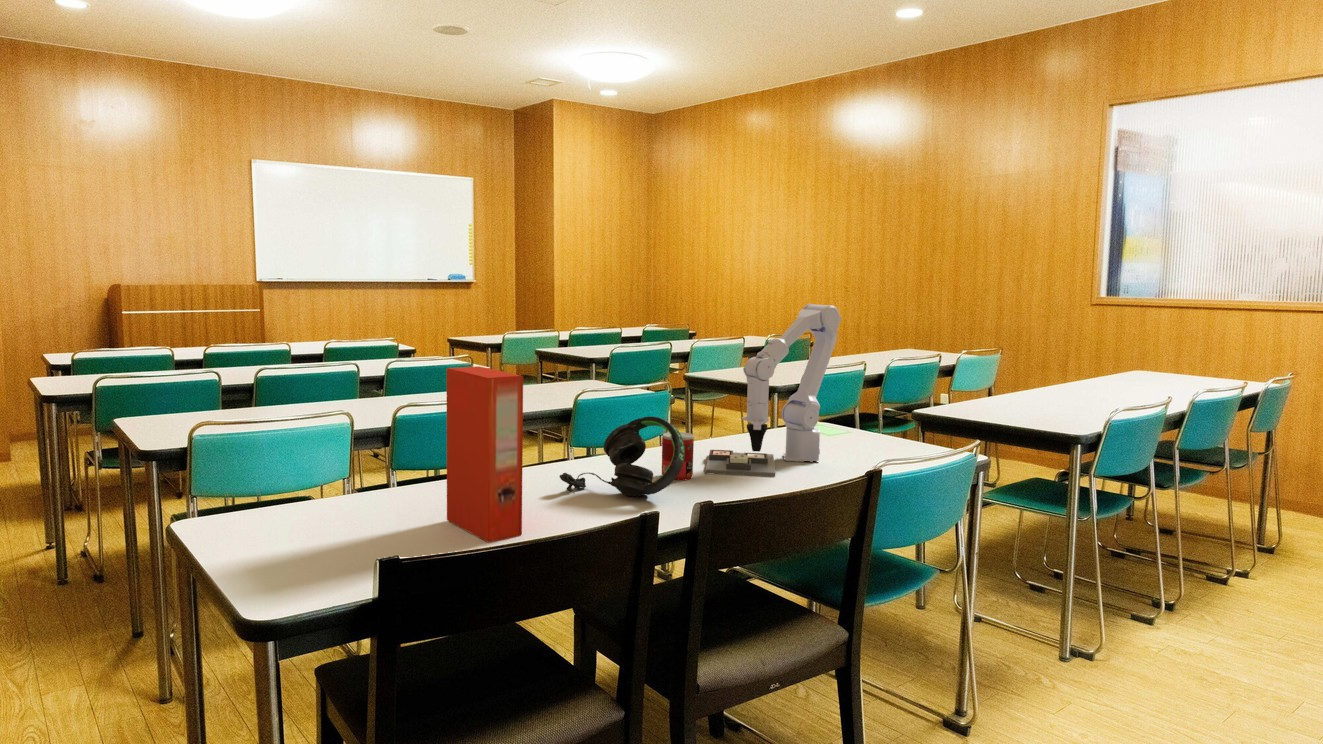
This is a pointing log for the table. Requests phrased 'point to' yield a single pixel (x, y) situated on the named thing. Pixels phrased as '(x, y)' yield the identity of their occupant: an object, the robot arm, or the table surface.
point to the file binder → (485, 451)
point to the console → (741, 465)
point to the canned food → (669, 451)
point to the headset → (635, 459)
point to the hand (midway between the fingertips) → (756, 450)
